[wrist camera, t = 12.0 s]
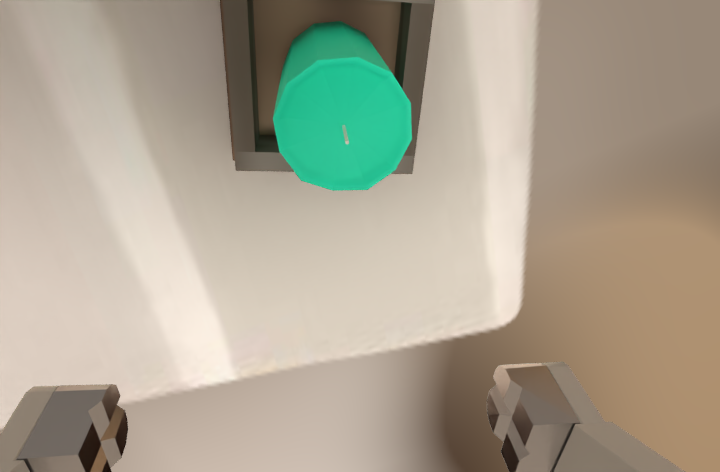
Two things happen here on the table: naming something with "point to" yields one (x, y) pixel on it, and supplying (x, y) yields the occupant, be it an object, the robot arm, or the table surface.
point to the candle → (340, 110)
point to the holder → (270, 48)
